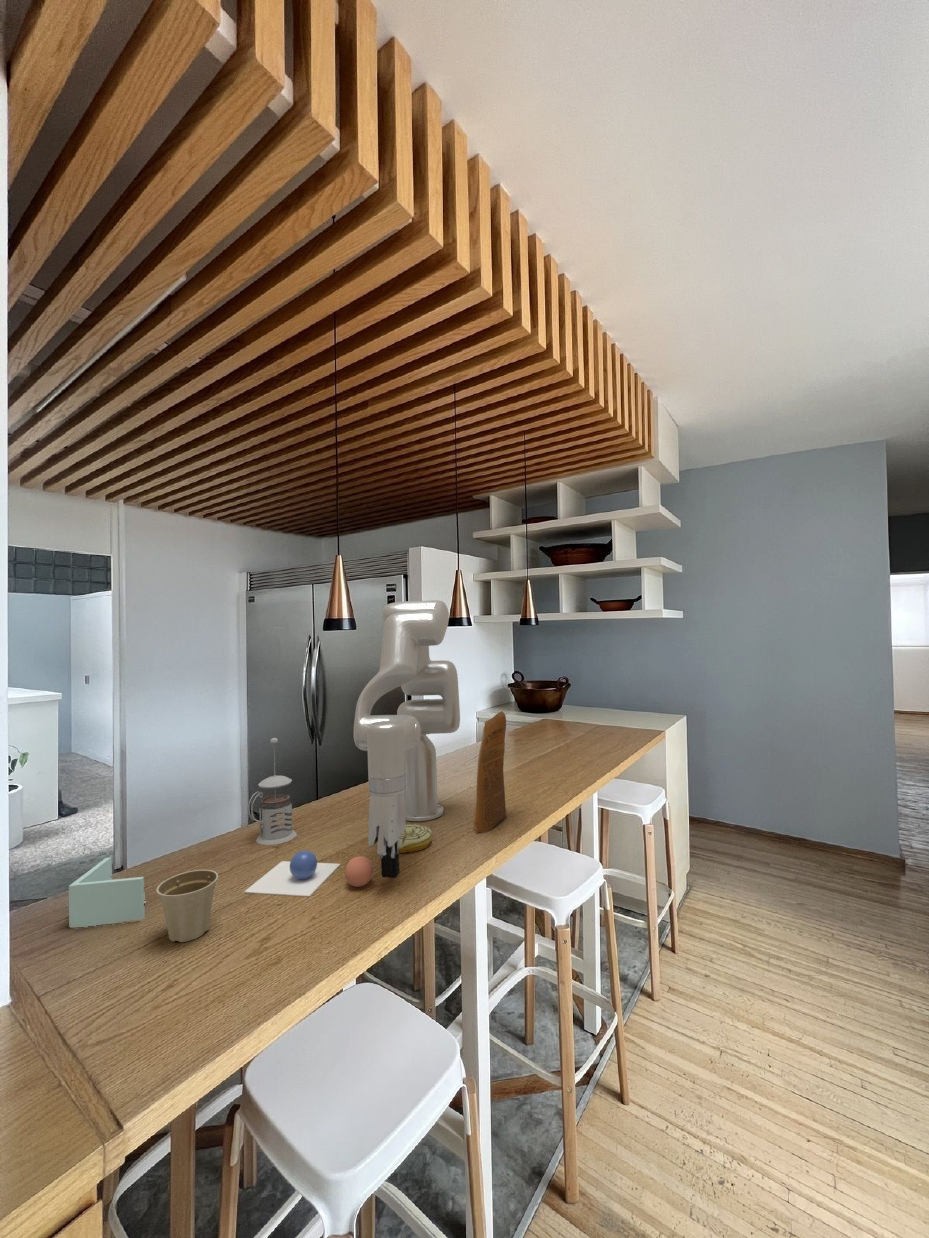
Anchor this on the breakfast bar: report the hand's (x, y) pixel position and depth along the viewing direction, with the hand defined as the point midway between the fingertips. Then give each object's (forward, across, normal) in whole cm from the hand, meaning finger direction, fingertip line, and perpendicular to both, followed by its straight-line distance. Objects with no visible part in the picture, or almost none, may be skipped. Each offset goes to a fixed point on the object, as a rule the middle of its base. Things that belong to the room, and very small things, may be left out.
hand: (390, 875), depth 104 cm
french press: (+2, -20, -38) cm, 43 cm away
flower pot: (+2, +21, -29) cm, 36 cm away
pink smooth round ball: (-1, +2, -6) cm, 6 cm away
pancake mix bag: (+2, -35, +16) cm, 38 cm away
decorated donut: (+2, -19, -2) cm, 19 cm away
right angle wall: (+2, +15, -48) cm, 50 cm away
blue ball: (-1, 0, -19) cm, 19 cm away
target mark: (+2, 0, -21) cm, 21 cm away
